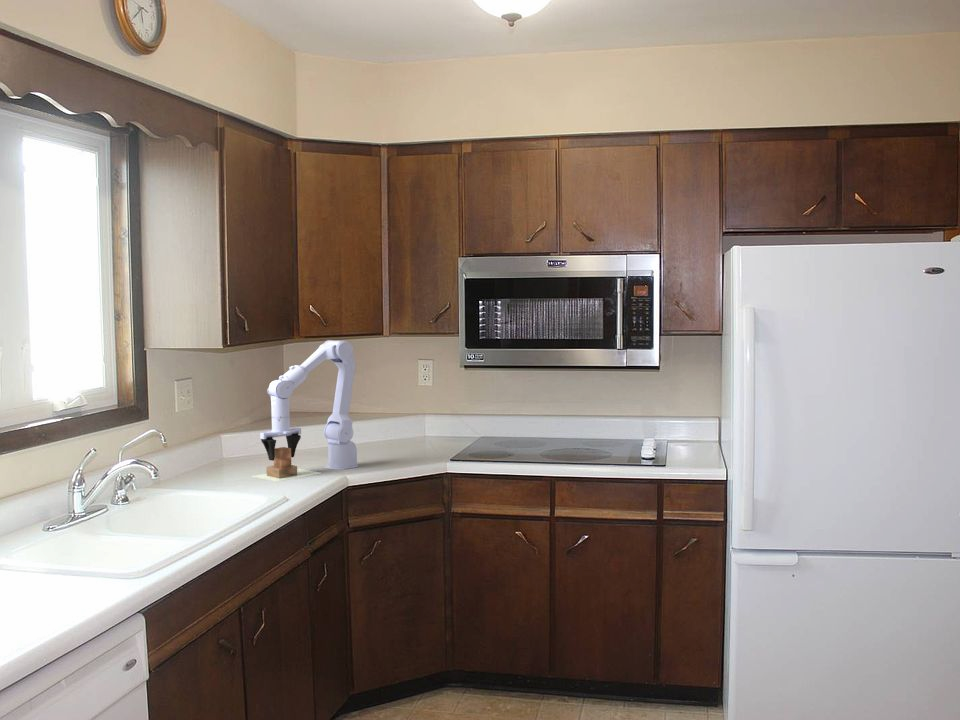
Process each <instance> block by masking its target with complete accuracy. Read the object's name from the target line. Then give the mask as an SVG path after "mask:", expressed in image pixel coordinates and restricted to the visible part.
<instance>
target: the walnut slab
mask: <svg viewBox="0 0 960 720" xmlns="http://www.w3.org/2000/svg"><path fill="white" fill-rule="evenodd" d="M297 468H298V466H297V465H292V464H291V467H285V468H277V467H274V465H268V466H266V468H265V469H266V474H267V476H270V477H274V478H279V479H280V478H285V477H290V476H296V475H297Z"/></svg>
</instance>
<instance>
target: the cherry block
mask: <svg viewBox="0 0 960 720" xmlns="http://www.w3.org/2000/svg"><path fill="white" fill-rule="evenodd" d="M291 465H292V457H291V448H288V446H287V447H286V446H281V447H275V459H274V460H273V466H274V467H277V468H285V467H291Z"/></svg>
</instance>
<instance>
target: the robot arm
mask: <svg viewBox="0 0 960 720" xmlns="http://www.w3.org/2000/svg"><path fill="white" fill-rule="evenodd" d="M354 350H355V348H354V347H353V346H352V345H351V343H350V342H349V341H348V340H332V339H327V340H325V342H324V343H322V344H320V345H319V346H318V348H317V349H316V350H315V351H314V352H313V353H311V355H310V356H309V357H307V359H305V360H304V361H303V362H302V363H301V364H300V365H299V364H298V365H291V366H289V368H288V369H289V370H287V372H285V373H283V375H280V376H279V377H278V379H275V380H273V381H271V382H270V383H269V386H268V388H267V389H266V390H267V391H266V392H267V394H268V395H269V397H270V402H271V405H270V406H271V408H270V410H271V412H270V413H271V430H268V431H264V432H260V433H259V434H260V435H259V437H260V438H259V439H260V440H261V443H262V445H263V446H264V448H265V450H266V453H267V457H268V460H269V461H273V462H274V459H275V448H276V445H277V440H276V439H274V438H280V437H285V438H286V442H287V443H286V444H287V448H291V458H295V455H296V450H297V446H298V444H299V441H300V440H301V437H302V436H301V435H302V428H300V427H294V428H293V427H292V428H291V421H290V420H291V418H290V413H291V412H290V397H291V396H292V394H293V392H294V389H296V388H297V387H298V386H299V385H301V383H303V382H305V380H306V379H307V377H308V373H309V372H311V371H312V370H313V369H315V368H316V367H317V366H319V365H320V364H321V363H323V362H324V361H326V360H328V361H329V360H330V361H331V362H332V363H334V365H335V366H336V367H337V368H338V373H337V378H336V379H337V380H336V386H335V392H334V393H335V394H334V399H333V400H334V401H333V407H332V413H331V414H330V416H329V417H328V418H327V422H326V424H325V426H324V428H323V435H324V437H325V438H326V439H327V440H326V441H327V443H328V444H327V446H328V447H327V453H328V465H326V466H323V468H328V469H331V470H336V471H337V470H348V469H354V468H359V465H358V457H357V456H358V455H357V454H358V450H357V445H356V443H355V442H353V440H352V438H353V436H354V429H353V421H352V418H351V417H350V416H349V414H350V407H351V399H352V393H353V385H354V379H355V378H354V377H355V370H356V362H355V358H354Z"/></svg>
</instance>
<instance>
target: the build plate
mask: <svg viewBox="0 0 960 720" xmlns="http://www.w3.org/2000/svg"><path fill="white" fill-rule="evenodd" d="M319 474H320V475H321V474H322V472H318V471H314V470H308V469H302V468H298V467H297V475H296V476H290V477H285V478H280V479H279V478H274V477H270V476H267V473H262V474H257V475H252V476H251V477H252V478H256V479H257V478H258V479H262V480H267V481H271V482H276V483H278V482H283V481H287V480H294V479H298V478H304V477H309V476H314V475H315V476H316V475H319Z"/></svg>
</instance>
